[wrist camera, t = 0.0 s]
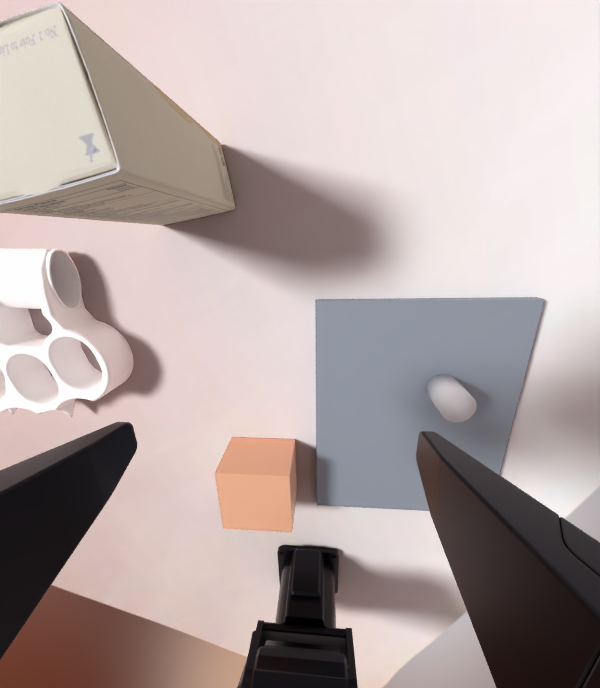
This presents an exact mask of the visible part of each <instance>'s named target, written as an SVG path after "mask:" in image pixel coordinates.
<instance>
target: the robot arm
mask: <svg viewBox="0 0 600 688" xmlns="http://www.w3.org/2000/svg"><path fill="white" fill-rule="evenodd" d="M136 449H137V441H136V437H135V433H134V429H133V425H132V424H131V423H129V422H116V423H114V424H111V425H109V426H106V427H104V428H102V429H99V430H97V431H94V432H92V433H90V434H87V435H85V436H82V437H80V438H78V439H75V440H73V441H70V442H68V443H66V444H63V445H61V446H58V447H56V448H53V449H51V450H49V451H46V452H44V453H41V454H39V455H37V456H34V457H32V458H29V459H27V460H25V461H22V462H20V463H17V464H15V465H13V466H10V467H8V468H5V469H3V470H1V471H0V659H1V658H2V656H3V655H4V653H5V652H6V650H7V649H8V647H9V646H10V644H11V643H12V641H13V640H14V639H15V637H16V636H17V634H18V633H19V631H20V630H21V628H22V627H23V625H24V624H25V622H26V621H27V619H28V618H29V616H30V615H31V614H32V612H33V611H34V609H35V608H36V606H37V605H38V603H39V602H40V600H41V599H42V597H43V596H44V594H45V593H46V591H47V590H48V588H49V587H50V585H51V584H52V583H53V581H54V580H55V578H56V577H57V575H58V574H59V572H60V571H61V569H62V568H63V566H64V565H65V563H66V562H67V560H68V559H69V557H70V556H71V554H72V553H73V551H74V550H75V549H76V547H77V546H78V544H79V543H80V541H81V540H82V538H83V537H84V535H85V534H86V532H87V531H88V529H89V528H90V526H91V525H92V523H93V522H94V520H95V519H96V518H97V516H98V515H99V513H100V512H101V510H102V509H103V507H104V506H105V504H106V503H107V501H108V500H109V498H110V496H111V495H112V493H113V491H114V490H115V488H116V486H117V484H118V483H119V481H120V479H121V477H122V475H123V474H124V472H125V470H126V468H127V466H128V465H129V463H130V461H131V459H132V457H133V456H134V454H135V452H136ZM416 461H417V465H418V469H419V473H420V477H421V481H422V484H423V488H424V492H425V496H426V500H427V503H428V507H429V510H430V514H431V517H432V519H433V522H434V525H435V528H436V530H437V533H438V535H439V538H440V541H441V543H442V546H443V548H444V551H445V554H446V556H447V559H448V562H449V564H450V567H451V569H452V572H453V575H454V577H455V580H456V583H457V585H458V588H459V590H460V593H461V596H462V598H463V601H464V603H465V606H466V609H467V611H468V614H469V616H470V619H471V622H472V624H473V627H474V630H475V632H476V635H477V637H478V640H479V643H480V645H481V648H482V651H483V653H484V656H485V658H486V661H487V664H488V666H489V669H490V671H491V674H492V677H493V679H494V682H495V685H496V687H497V688H600V542H598V541H597V540H595V539H594V538H592V537H590V536H589V535H588V534H586V533H585V532H583V531H582V530H580V529H579V528H577V527H576V526H574V525H573V524H571V523H570V522H568V521H567V520H565V519H564V518H562V517H560V518H559V516H558V514H556V513H555V512H553V511H552V510H550V509H549V508H547V507H546V506H544V505H543V504H541V503H540V502H539V501H537V500H536V499H534V498H533V497H531V496H530V495H528V494H527V493H525V492H524V491H522V490H521V489H519V488H518V487H516V486H515V485H513V484H512V483H510V482H509V481H507V480H506V479H504V478H503V477H501V476H500V475H498V474H497V473H495V472H494V471H493V470H491V469H490V468H488V467H487V466H485V465H484V464H482V463H481V462H479V461H478V460H476V459H475V458H473V457H472V456H470V455H469V454H467V453H466V452H464V451H463V450H461V449H460V448H458V447H457V446H455V445H454V444H452V443H451V442H449V441H448V440H447V439H445V438H444V437H442V436H441V435H439V434H438V433H436V432H434V431H421V432H420V433H419V436H418V443H417V450H416ZM278 564H279V579H280V592H279V600H278V608H277V615H276V623H269V622H264V621H261V620H258V624H257V628H256V631H254V632H253V633H252V639H251V644H250V649H249V654H248V658H247V661H246V664H245V667H244V670H243V672H242V675H241V678H240V682H239V684H238V687H237V688H357V677H356V667H355V657H354V647H353V637H352V628H346V629H338V628H336V614H335V593H337V591H338V551H337V550H335V549H322V548H306V547H291V546H280V547H279V548H278Z"/></svg>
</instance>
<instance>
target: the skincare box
mask: <svg viewBox="0 0 600 688" xmlns="http://www.w3.org/2000/svg"><path fill="white" fill-rule="evenodd" d="M234 209H235V203H234V198H233V193H232V189H231V184H230V180H229V176H228V171H227V167H226V163H225V159H224V155H223V151H222V147H221V144H220V142H219V141H218V140H217V139H216V138H214V137H213V136H212V135H211V134H210V133H209V132H208V131H206V130H205V129H204V128H203V127H202V126H201V125H200V124H199V123H197V122H196V121H195V120H194V119H193V118H192V117H191V116H189V115H188V114H187V113H186V112H185V111H184V110H183V109H181V108H180V107H179V106H178V105H177V104H176V103H175V102H174V101H172V100H171V99H170V98H169V97H168V96H167V95H165V94H164V93H163V92H162V91H161V90H160V89H159V88H158V87H156V86H155V85H154V84H153V83H152V82H151V81H149V80H148V79H147V78H146V77H145V76H144V75H142V74H141V73H140V72H139V71H138V70H137V69H136V68H135V67H133V66H132V65H131V64H130V63H129V62H128V61H127V60H125V59H124V58H123V57H122V56H121V55H120V54H119V53H117V52H116V51H115V50H114V49H113V48H112V47H111V46H109V45H108V44H107V43H106V42H105V41H104V40H103V39H101V38H100V37H99V36H98V35H97V34H96V33H95V32H93V31H92V30H91V29H90V28H89V27H88V26H87V25H85V24H84V23H83V22H82V21H81V20H80V19H79V18H77V17H76V16H75V15H74V14H73V13H72V12H71V11H69V10H68V9H67V8H66V7H65V6H64V5H63V4H61V3H59V2H57V3H52V4H49V5H46V6H43V7H39V8H36V9H33V10H30V11H26V12H23V13H20V14H18V15H16V16H13V17H10V18H7V19H4V20H2V21H0V213H14V214H26V215H39V216H52V217H64V218H78V219H90V220H102V221H115V222H128V223H141V224H153V225H165V224H171V223H176V222H181V221H186V220H191V219H196V218H200V217H205V216H210V215H214V214H218V213H222V212H226V211H231V210H234Z"/></svg>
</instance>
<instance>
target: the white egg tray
mask: <svg viewBox="0 0 600 688" xmlns="http://www.w3.org/2000/svg"><path fill="white" fill-rule="evenodd" d="M28 308H30V309H41V310H42V313H43V315H44V316H45V317H46V319H47V320H48V321H49V322H50V323H51V325H52V333H51V334H50V335H42V334H40V333H38V332H37V331H36V330H35V328H34V326H33V323H32V320H31V316H30V313H29V310H28ZM81 342H83V343H84V344H86V345H87V346H88V347H89V348H90V349H91V351H92V352H93V354H94V355H95V357H96V359H97V361H98V363H99V365H100V367H101V370H102V372H100V371H98V370H96V369H95V368H94V367H93V366H92V365H91V364H90V362H89V361H88V359H87V357H86V356H85V354H84V352H83V350H82V347H81ZM44 364H45V365H46V366H47V367H48V369H49V370H50V372H51V373H52V375H53V377H54V378H55V379H54V378H53V377H52V376H51V374H50V373H49V371H48V370H47V368H46V366H45V365H44ZM133 364H134V361H133V354H132V351H131V348H130V346H129V344H128V343H127V341H126V340H125V338H124V337H123V336H122V335H121V334H120V333H119V332H118V331H117V330H116V329H114V328H113V327H112V326H110V325H108V324H106V323H104V322H101V321H97V320H96V319H94V317H93V316H92V315H91V314H90V313H89V312H88V311H87V310H86V309H85V307H84V303H83V299H82V287H81V281H80V277H79V273H78V270H77V268H76V266H75V264H74V262H73V260H72V259H71V257H70V256H69V255H68V253H67V252H65V251H64V250H62V249H0V411H2V412H3V411H7V410H8V411H10V412H11V413H12V414H14V412H15V411H16V409H17V408H24V409H28V410H31V411H34V412H36V413H43V412H48V411H52V410H57V409H58V410H60V411H62V412H64V413H66V414H67V415H69V416H71V417H73V413H74V403H75V399H77V398H80V399H87V400H91V401H96V400H98V399H100V398H101V397H103V396H104V395H106V394H107V393H109V392H110V391H112V390H113V389H115V388H116V387H118V386H119V385H121V384H122V383H124V382H125V381H126V380H127V379H128V378H129V376H130V375H131V373H132V370H133Z"/></svg>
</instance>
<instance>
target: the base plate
mask: <svg viewBox="0 0 600 688" xmlns="http://www.w3.org/2000/svg"><path fill="white" fill-rule="evenodd" d="M543 303H544V299H541V298H537V297H522V298H417V299H316V455H317V505H324V506H344V507H363V508H383V509H403V510H422V511H430V510H429V507H428V503H427V500H426V496H425V492H424V488H423V484H422V481H421V477H420V473H419V469H418V465H417V461H416V450H417V443H418V436H419V433H420V432H421V431H434V432H436V433H438V434H439V435H441V436H442V437H444V438H445V439H447V440H448V441H449V442H451V443H452V444H454V445H455V446H457V447H458V448H460V449H461V450H463V451H464V452H466V453H467V454H469V455H470V456H472V457H473V458H475V459H476V460H478V461H479V462H481V463H482V464H484V465H485V466H487V467H488V468H490V469H491V470H493V471H494V472H495V473H497V474H498V475H500V471H501V467H502V463H503V459H504V455H505V451H506V447H507V443H508V440H509V436H510V432H511V428H512V424H513V420H514V416H515V412H516V408H517V405H518V401H519V397H520V393H521V389H522V385H523V381H524V377H525V373H526V369H527V366H528V362H529V358H530V354H531V350H532V346H533V342H534V338H535V334H536V331H537V327H538V323H539V319H540V315H541V311H542V307H543Z"/></svg>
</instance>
